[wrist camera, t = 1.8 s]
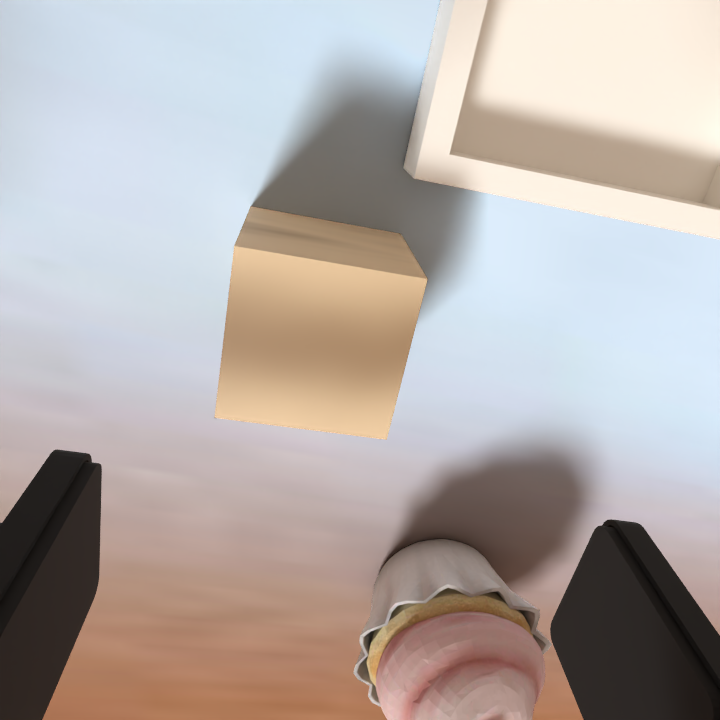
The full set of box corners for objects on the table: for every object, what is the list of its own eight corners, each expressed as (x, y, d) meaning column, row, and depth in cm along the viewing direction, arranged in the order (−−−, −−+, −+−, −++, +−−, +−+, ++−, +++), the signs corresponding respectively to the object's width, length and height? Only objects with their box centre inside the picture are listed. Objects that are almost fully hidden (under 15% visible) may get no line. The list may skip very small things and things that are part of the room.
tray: (704, 228, 25) (745, 244, 23) (403, 168, 23) (414, 178, 21) (875, -160, 20) (951, -191, 17) (502, -283, 18) (532, -337, 15)
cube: (370, 365, 27) (386, 439, 21) (233, 345, 26) (214, 417, 20) (400, 233, 24) (427, 279, 19) (250, 205, 23) (234, 245, 18)
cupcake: (549, 586, 33) (638, 776, 24) (410, 664, 35) (445, 867, 26) (461, 480, 30) (528, 657, 21) (311, 572, 32) (313, 772, 23)
